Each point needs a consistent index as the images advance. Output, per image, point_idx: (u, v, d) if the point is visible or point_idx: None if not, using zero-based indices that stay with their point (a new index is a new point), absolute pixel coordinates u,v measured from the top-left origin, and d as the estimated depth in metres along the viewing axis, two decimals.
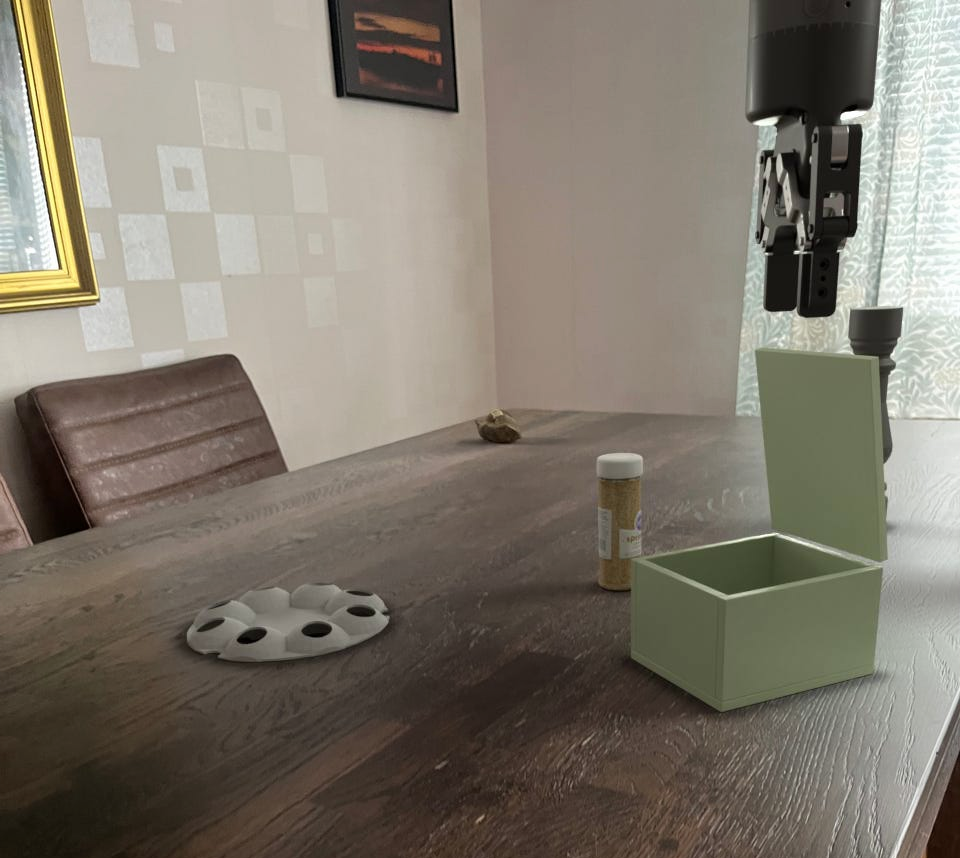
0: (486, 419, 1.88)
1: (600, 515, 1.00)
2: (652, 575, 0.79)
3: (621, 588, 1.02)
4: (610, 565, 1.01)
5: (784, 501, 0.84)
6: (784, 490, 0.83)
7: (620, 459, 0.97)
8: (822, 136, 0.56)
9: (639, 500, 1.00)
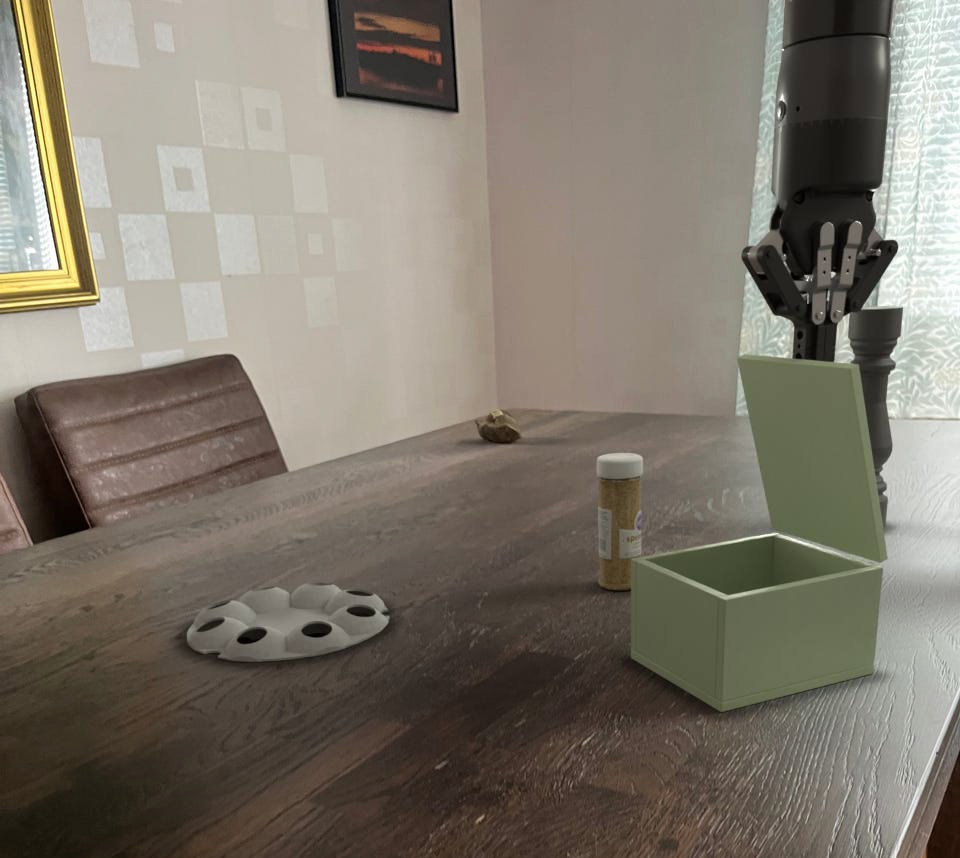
0: (486, 419, 1.88)
1: (600, 515, 1.00)
2: (652, 575, 0.79)
3: (621, 588, 1.02)
4: (610, 565, 1.01)
5: (781, 503, 0.84)
6: (780, 492, 0.83)
7: (620, 459, 0.97)
8: (744, 260, 0.72)
9: (639, 500, 1.00)
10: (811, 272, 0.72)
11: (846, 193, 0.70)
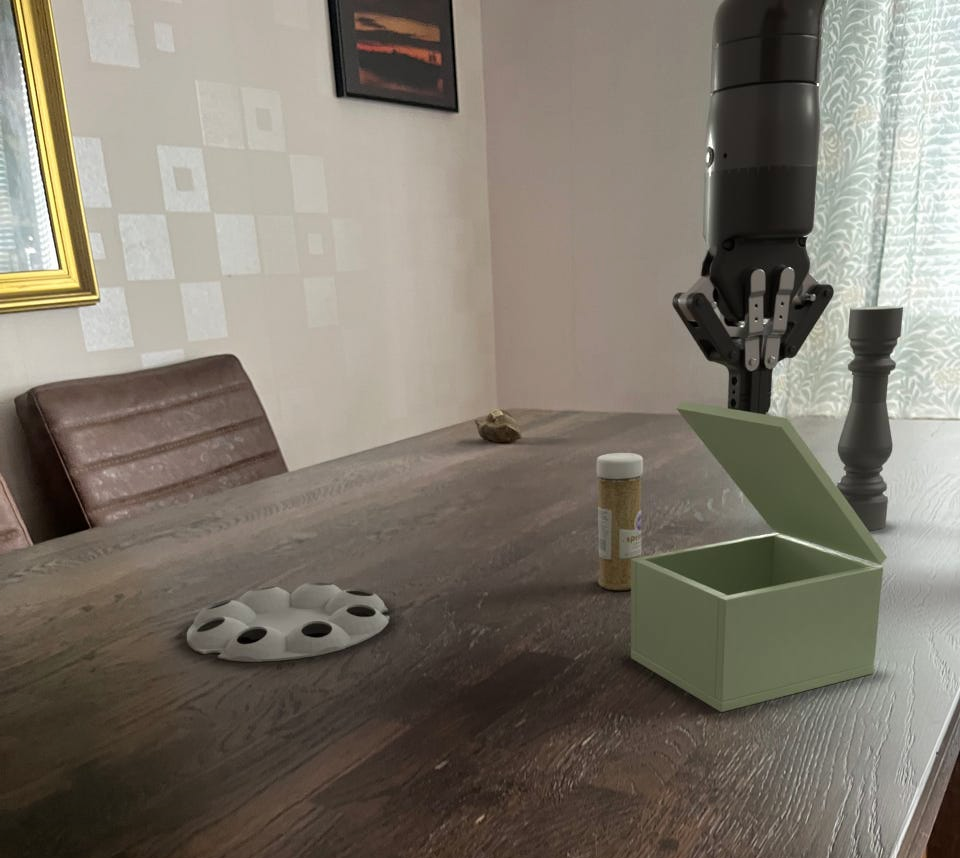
0: (486, 419, 1.88)
1: (600, 515, 1.00)
2: (652, 575, 0.79)
3: (621, 588, 1.02)
4: (610, 565, 1.01)
5: (771, 514, 0.84)
6: (765, 506, 0.83)
7: (620, 459, 0.97)
8: (675, 307, 0.70)
9: (639, 500, 1.00)
10: (743, 318, 0.71)
11: (777, 239, 0.69)
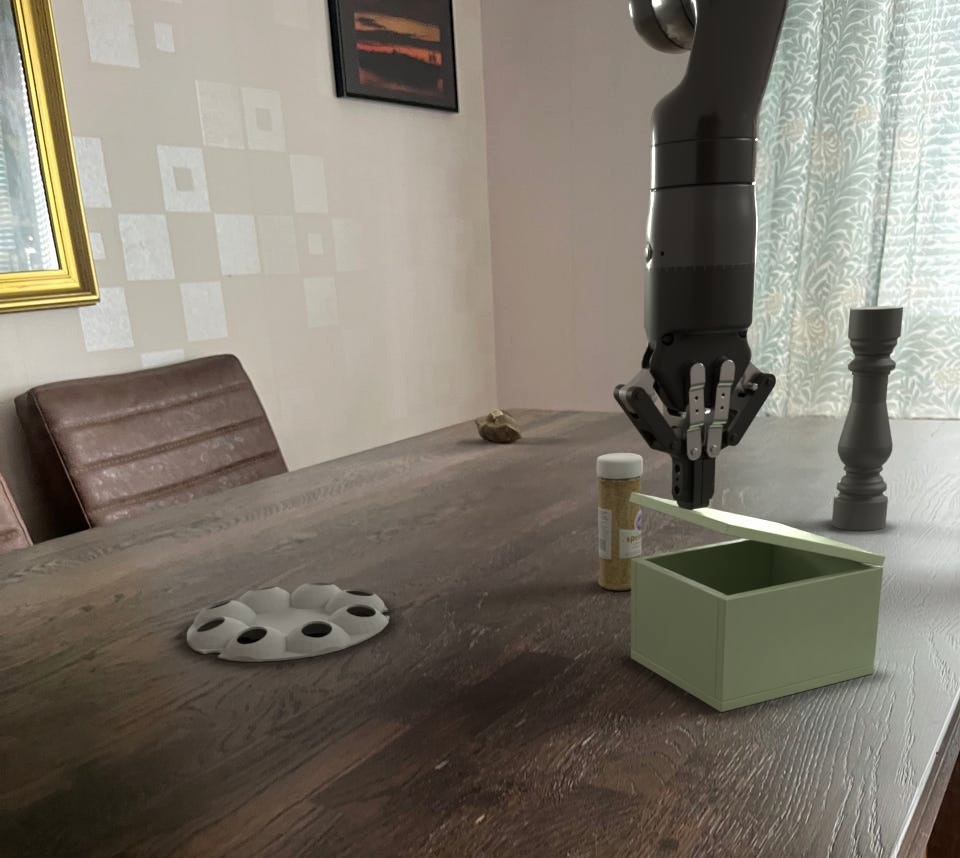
0: (486, 419, 1.88)
1: (600, 515, 1.00)
2: (652, 575, 0.79)
3: (621, 588, 1.02)
4: (610, 565, 1.01)
5: None
6: None
7: (620, 459, 0.97)
8: (616, 399, 0.71)
9: None
10: (684, 410, 0.71)
11: None
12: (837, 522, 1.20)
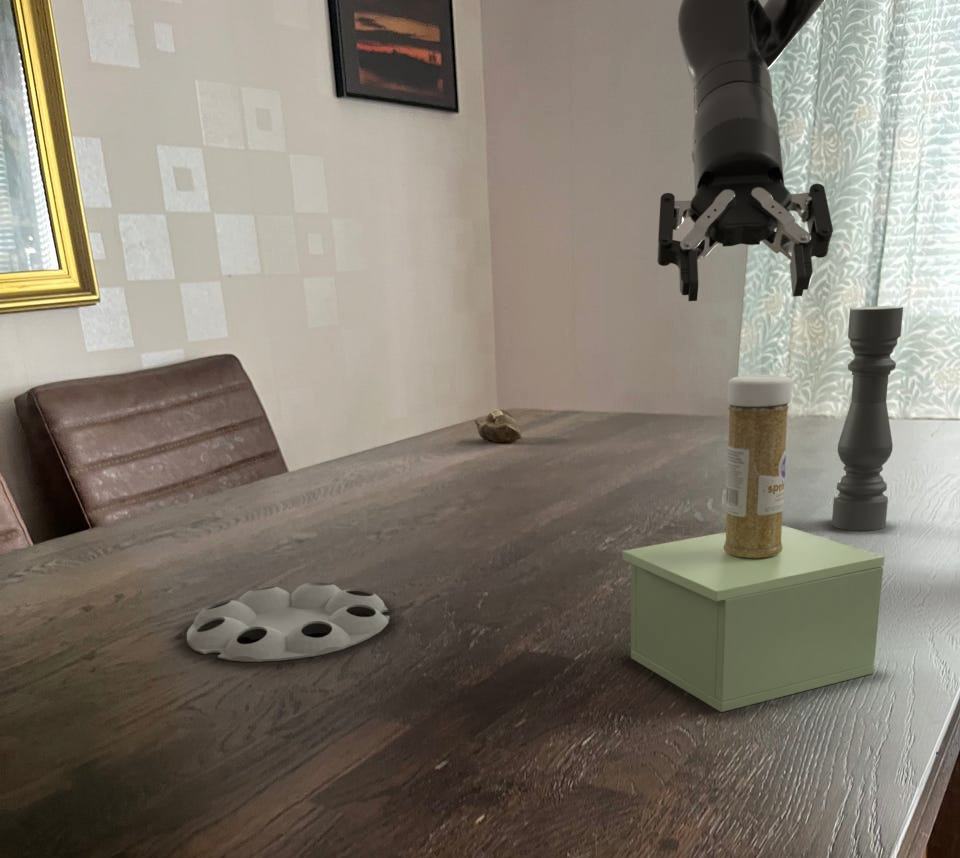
0: (486, 419, 1.88)
1: (732, 457, 0.75)
2: (652, 575, 0.79)
3: (758, 555, 0.76)
4: (744, 524, 0.76)
5: None
6: None
7: (764, 379, 0.72)
8: None
9: (785, 437, 0.75)
10: (724, 227, 0.85)
11: (748, 176, 0.86)
12: (837, 522, 1.20)
